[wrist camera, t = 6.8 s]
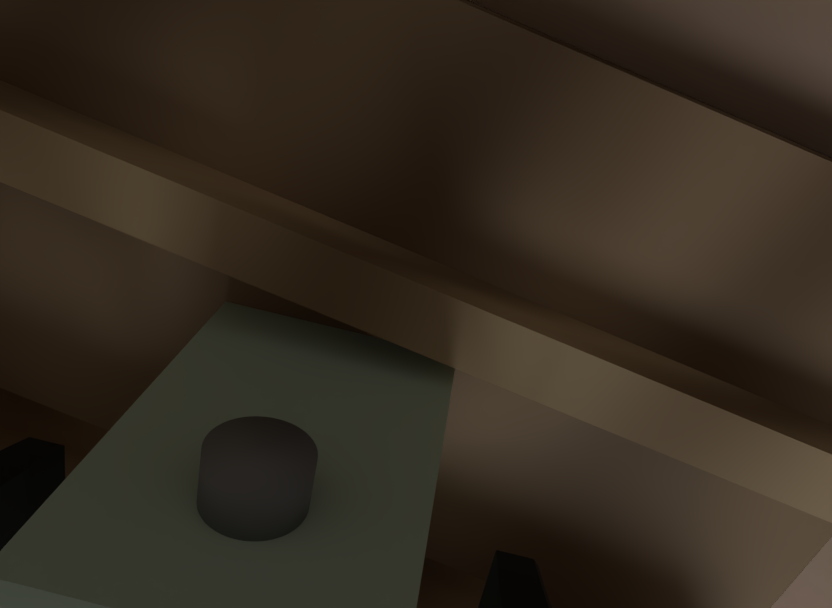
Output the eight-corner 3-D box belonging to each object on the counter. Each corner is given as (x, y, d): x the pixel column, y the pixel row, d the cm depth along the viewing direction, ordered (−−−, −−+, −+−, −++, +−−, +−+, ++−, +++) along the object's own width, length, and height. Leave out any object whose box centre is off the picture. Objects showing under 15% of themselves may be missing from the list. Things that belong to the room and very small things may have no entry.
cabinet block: (466, 319, 13) (420, 628, 7) (415, 519, 15) (343, 897, 9) (229, 262, 14) (-25, 514, 7) (208, 468, 16) (-3, 805, 9)
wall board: (1027, 243, 13) (1272, 371, 8) (671, 675, 18) (717, 884, 14) (-81, -237, 12) (-401, -351, 8) (-122, 360, 17) (-327, 483, 13)
